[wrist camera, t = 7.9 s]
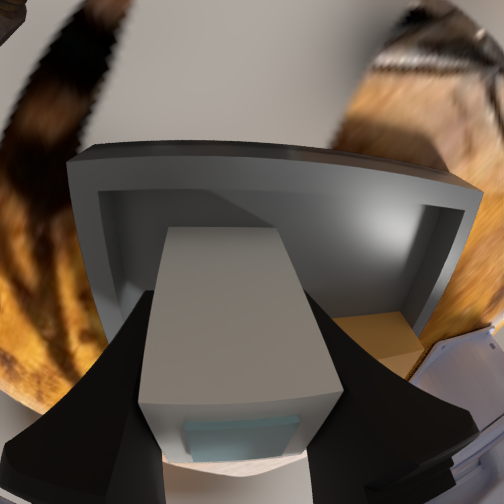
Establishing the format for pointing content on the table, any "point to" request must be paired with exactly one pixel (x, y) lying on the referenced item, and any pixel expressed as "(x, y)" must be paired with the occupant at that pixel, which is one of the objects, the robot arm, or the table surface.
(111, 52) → the table surface
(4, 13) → the bolt
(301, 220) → the grey rimmed tray
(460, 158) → the table surface
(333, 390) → the block
